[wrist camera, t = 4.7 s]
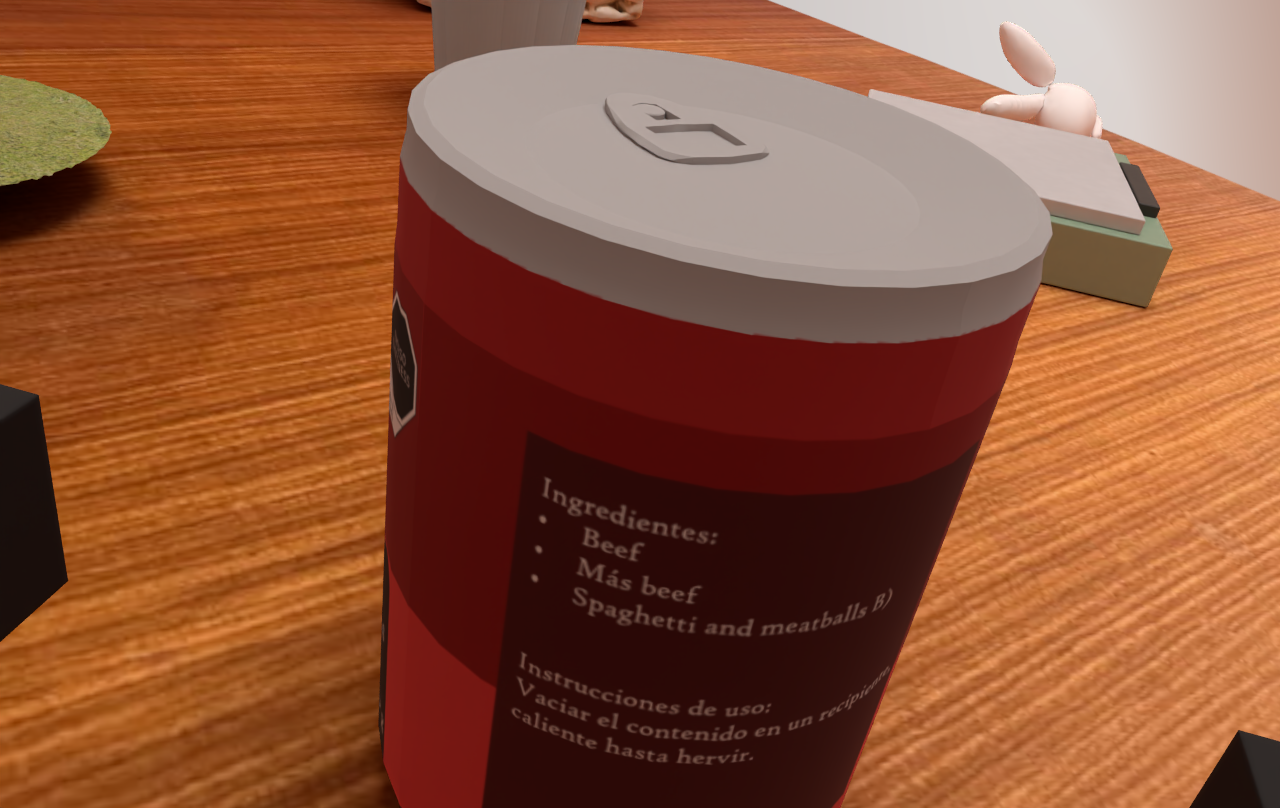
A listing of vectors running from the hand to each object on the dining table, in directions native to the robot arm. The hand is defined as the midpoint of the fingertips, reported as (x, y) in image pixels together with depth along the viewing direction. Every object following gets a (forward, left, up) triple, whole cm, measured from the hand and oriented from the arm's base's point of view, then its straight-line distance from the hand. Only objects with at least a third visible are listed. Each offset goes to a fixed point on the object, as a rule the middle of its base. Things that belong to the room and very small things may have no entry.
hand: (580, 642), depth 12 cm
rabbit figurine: (+19, -47, -7) cm, 52 cm away
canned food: (+2, -3, -7) cm, 8 cm away
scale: (+14, -36, -6) cm, 39 cm away
